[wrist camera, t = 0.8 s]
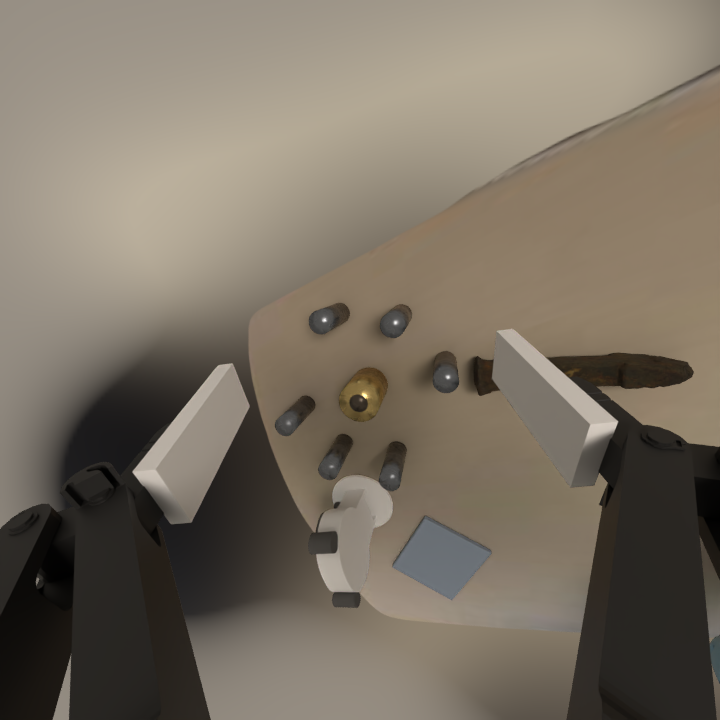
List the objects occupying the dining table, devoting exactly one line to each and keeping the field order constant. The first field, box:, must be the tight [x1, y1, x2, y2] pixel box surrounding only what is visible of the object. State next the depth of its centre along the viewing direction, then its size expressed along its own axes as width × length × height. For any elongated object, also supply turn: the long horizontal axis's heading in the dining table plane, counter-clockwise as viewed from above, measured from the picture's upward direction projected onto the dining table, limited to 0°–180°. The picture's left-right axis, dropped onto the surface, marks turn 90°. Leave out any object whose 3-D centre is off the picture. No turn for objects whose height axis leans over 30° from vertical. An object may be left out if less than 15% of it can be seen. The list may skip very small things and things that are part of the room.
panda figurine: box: [308, 475, 393, 608], centre depth 48 cm, size 12×11×15 cm
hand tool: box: [474, 353, 694, 396], centre depth 37 cm, size 23×5×6 cm, turn 96°
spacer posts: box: [275, 303, 459, 491], centre depth 43 cm, size 20×27×8 cm
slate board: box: [393, 516, 492, 600], centre depth 53 cm, size 12×14×1 cm
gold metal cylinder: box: [339, 368, 388, 422], centre depth 44 cm, size 6×6×7 cm
